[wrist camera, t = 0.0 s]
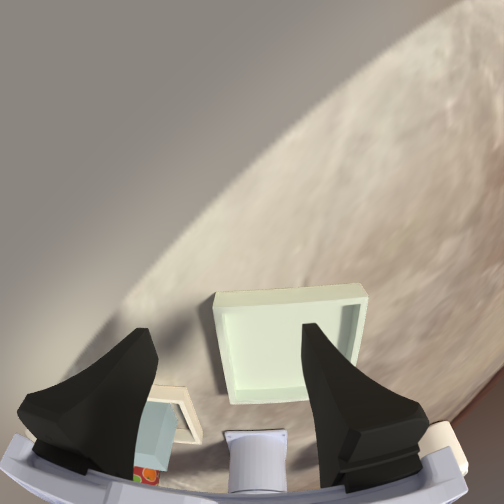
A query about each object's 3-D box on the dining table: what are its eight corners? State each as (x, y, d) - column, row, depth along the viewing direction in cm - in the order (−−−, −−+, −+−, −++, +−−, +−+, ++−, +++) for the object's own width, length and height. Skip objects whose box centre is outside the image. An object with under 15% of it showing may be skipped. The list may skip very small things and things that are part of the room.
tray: (343, 379, 27) (348, 394, 25) (231, 387, 28) (230, 404, 25) (359, 282, 23) (368, 296, 21) (215, 292, 23) (212, 307, 21)
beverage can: (403, 449, 36) (420, 499, 25) (415, 428, 33) (437, 484, 22) (439, 435, 36) (458, 481, 25) (453, 412, 33) (478, 463, 22)
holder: (203, 432, 32) (201, 444, 30) (135, 425, 32) (131, 436, 30) (186, 387, 28) (183, 400, 26) (108, 379, 28) (102, 391, 26)
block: (177, 420, 31) (166, 471, 23) (146, 416, 31) (132, 465, 23) (168, 400, 29) (154, 455, 22) (135, 396, 29) (117, 448, 22)
